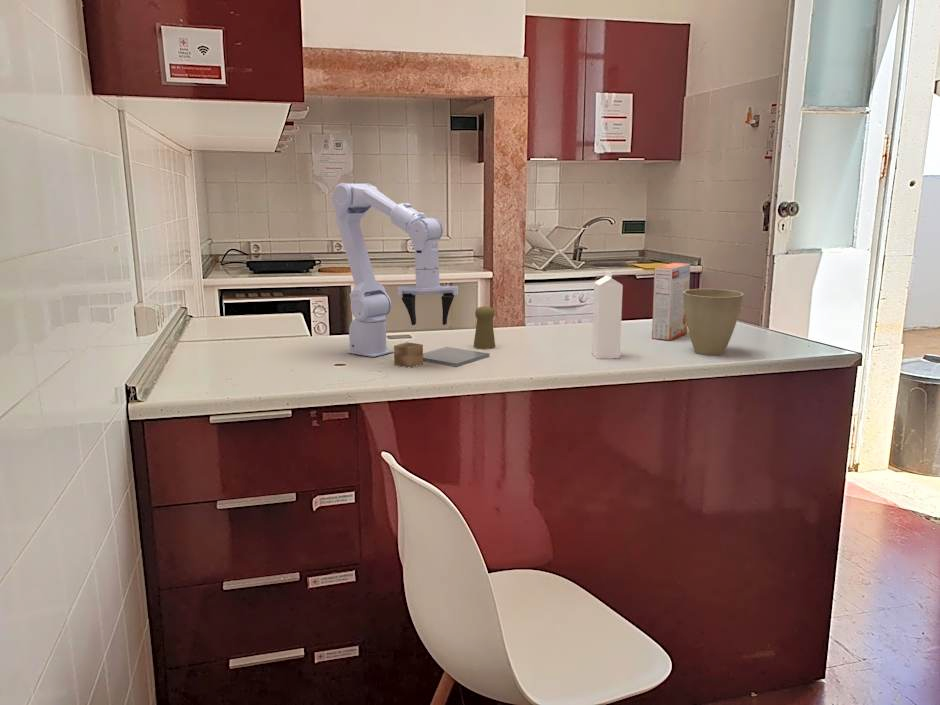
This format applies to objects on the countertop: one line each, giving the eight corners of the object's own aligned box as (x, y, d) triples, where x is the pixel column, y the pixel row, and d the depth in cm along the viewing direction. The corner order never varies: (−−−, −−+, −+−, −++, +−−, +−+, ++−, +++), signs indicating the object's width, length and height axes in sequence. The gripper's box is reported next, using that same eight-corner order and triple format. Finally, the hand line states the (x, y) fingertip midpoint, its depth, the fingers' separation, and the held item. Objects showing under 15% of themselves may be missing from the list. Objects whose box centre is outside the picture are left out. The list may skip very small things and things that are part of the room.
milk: (614, 353, 198) (618, 269, 193) (619, 358, 192) (624, 272, 187) (591, 353, 198) (594, 269, 193) (596, 359, 192) (599, 272, 187)
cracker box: (668, 331, 228) (672, 262, 223) (687, 333, 224) (692, 263, 220) (649, 339, 217) (653, 266, 212) (670, 341, 213) (674, 267, 209)
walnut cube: (394, 365, 186) (393, 345, 184) (407, 361, 189) (407, 342, 188) (409, 368, 183) (409, 348, 182) (423, 364, 187) (422, 344, 186)
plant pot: (669, 348, 204) (672, 289, 201) (718, 345, 208) (722, 287, 204) (698, 360, 190) (702, 297, 187) (750, 357, 194) (755, 295, 190)
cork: (493, 349, 203) (493, 309, 200) (471, 348, 204) (471, 308, 202) (497, 345, 209) (497, 305, 206) (475, 344, 210) (476, 304, 207)
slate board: (412, 359, 192) (412, 356, 192) (446, 349, 203) (446, 346, 203) (456, 366, 184) (456, 363, 183) (489, 356, 195) (489, 353, 194)
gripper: (394, 270, 179) (396, 327, 181) (454, 269, 177) (456, 326, 180) (400, 268, 186) (402, 322, 188) (458, 267, 184) (460, 322, 186)
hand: (429, 324), depth 184 cm, fingers open, 7 cm apart
